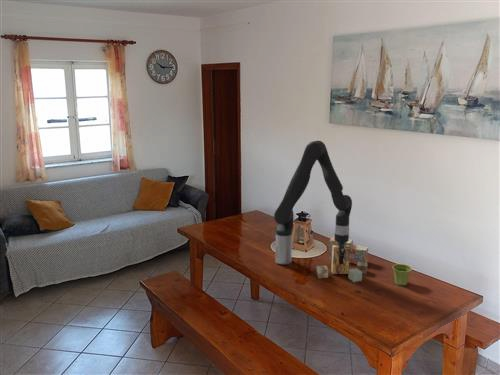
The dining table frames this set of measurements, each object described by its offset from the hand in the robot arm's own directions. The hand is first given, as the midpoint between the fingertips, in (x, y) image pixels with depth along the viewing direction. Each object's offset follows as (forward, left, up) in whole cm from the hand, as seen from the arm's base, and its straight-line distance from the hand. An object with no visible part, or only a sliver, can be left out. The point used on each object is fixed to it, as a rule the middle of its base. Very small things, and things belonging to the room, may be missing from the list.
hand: (340, 261), depth 241 cm
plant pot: (+30, -10, -7) cm, 33 cm away
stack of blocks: (+7, +18, -7) cm, 20 cm away
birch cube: (-10, -4, -7) cm, 13 cm away
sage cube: (+7, -7, -7) cm, 12 cm away
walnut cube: (+12, +2, -7) cm, 14 cm away
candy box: (0, 0, -7) cm, 7 cm away
